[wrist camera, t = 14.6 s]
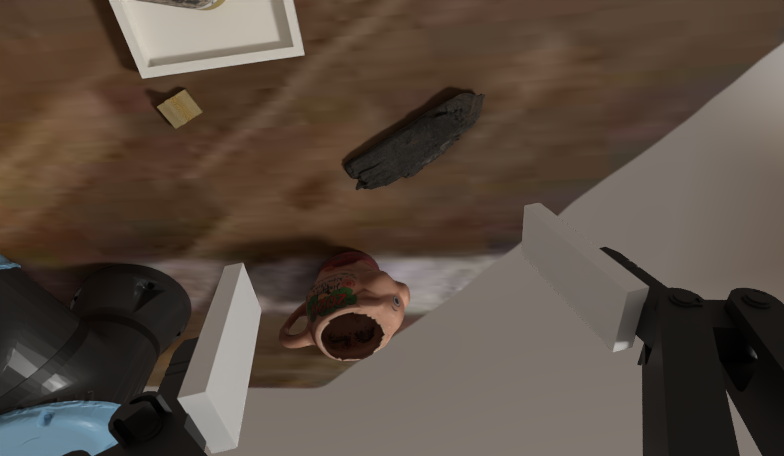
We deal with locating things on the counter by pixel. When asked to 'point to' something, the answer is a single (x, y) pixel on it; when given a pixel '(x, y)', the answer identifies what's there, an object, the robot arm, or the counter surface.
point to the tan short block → (180, 108)
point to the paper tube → (189, 3)
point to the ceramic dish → (207, 34)
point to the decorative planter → (349, 309)
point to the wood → (416, 143)
